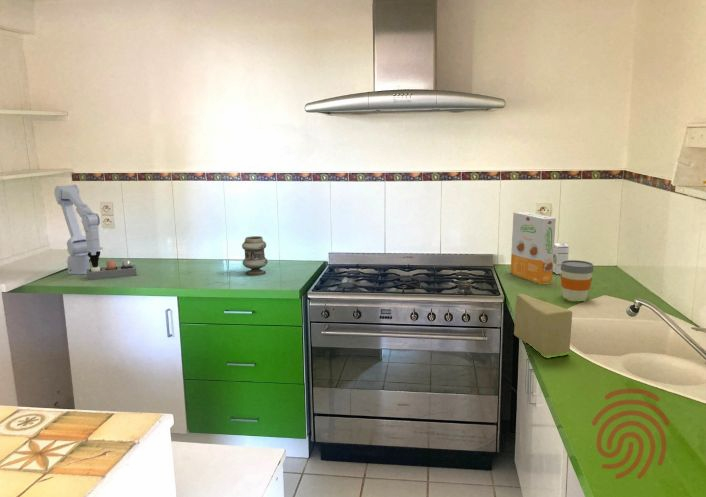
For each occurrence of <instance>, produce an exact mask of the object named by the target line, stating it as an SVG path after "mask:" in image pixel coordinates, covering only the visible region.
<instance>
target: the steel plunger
mask: <svg viewBox="0 0 706 497" xmlns="http://www.w3.org/2000/svg"><path fill="white" fill-rule="evenodd" d="M131 261H132V260H131V259H123V260H121V266H122V268H123V269H127V268H131V265H132V262H131Z"/></svg>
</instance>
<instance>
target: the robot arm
mask: <svg viewBox="0 0 706 497" xmlns="http://www.w3.org/2000/svg"><path fill="white" fill-rule="evenodd" d="M54 197H55V201H56V203H57V205H60V207H61V210H62V213H63V216H64V220H65V222H66V226H67V229H68V232H69V234H70V238H69V239H68V240H67V242H66V246H67V253H68V254H69V255H68V257H67V259H66V263H67V270H68V271H67V272H68V273H67V275H87V274H86V272H87V269H91V267H98V266H99V259H100V255H101V250H103V249H104V248H103V247H101V243H100V234H99V226H100V224H101V219H100V216H99V214H98V213H97V212H93V211H92V210H91V207H90V206H89V205H88V204H87V203H84V202H83V200H82V198H81V197H80V188H79V187H78V185H77V184H72V185H71V184H68V185H67V184H66V185H56V186H55V187H54ZM73 205H74V206H75V207H76V208H75V209H74V206H73ZM75 211H76V212H75ZM76 213H77V214H78V215H79V217H80V218H81V223H82V227H83V230H84V232H85V235H83V234H82V231H81V229H80V224H79V222H78V218H77V215H76ZM90 263H91V265H92V266H90Z"/></svg>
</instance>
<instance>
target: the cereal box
mask: <svg viewBox="0 0 706 497" xmlns="http://www.w3.org/2000/svg"><path fill="white" fill-rule="evenodd" d="M512 215H513V216H512V217H513V218H512V232H511V233H512V234H511V235H512V236H511V238H512V239H511V255H510V256H511V258H510V273H513V274H515V275H518V276H520V277H519V278H521V277H523V278H525V279H524V280H526V279H528V280H527V281H529V280H531V281H533V282H532V283H534V282H536V283H539V284H543V283H551V282H552V280H553V272H552V269H553V253H554V244H555V236H556V234H555V233H556V224H557V223H556V217H552V216H547V215H542V214H538V213H532V212H528V211H515V212H513V213H512ZM513 274H512V275H513ZM515 275H514V276H515ZM518 276H517V277H518ZM523 278H522V279H523ZM531 281H530V282H531ZM536 283H535V284H536ZM539 284H538V285H539Z"/></svg>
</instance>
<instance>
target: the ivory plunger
mask: <svg viewBox="0 0 706 497" xmlns="http://www.w3.org/2000/svg"><path fill="white" fill-rule="evenodd" d="M100 268H101V266H100V265H98V267H93V266H90V269H91V272H95V271H100Z"/></svg>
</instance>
